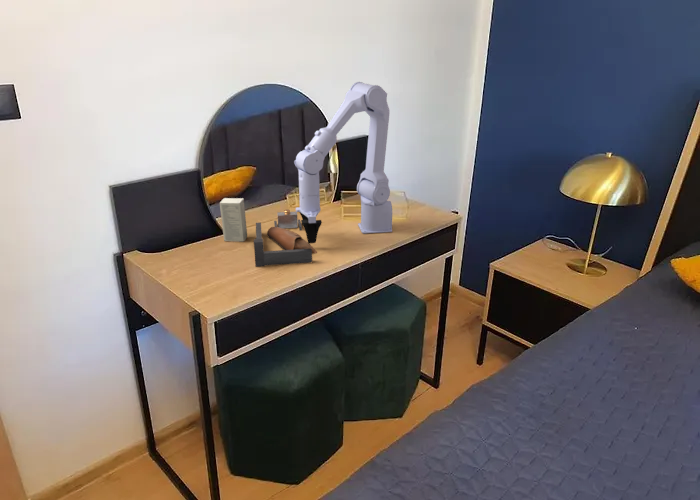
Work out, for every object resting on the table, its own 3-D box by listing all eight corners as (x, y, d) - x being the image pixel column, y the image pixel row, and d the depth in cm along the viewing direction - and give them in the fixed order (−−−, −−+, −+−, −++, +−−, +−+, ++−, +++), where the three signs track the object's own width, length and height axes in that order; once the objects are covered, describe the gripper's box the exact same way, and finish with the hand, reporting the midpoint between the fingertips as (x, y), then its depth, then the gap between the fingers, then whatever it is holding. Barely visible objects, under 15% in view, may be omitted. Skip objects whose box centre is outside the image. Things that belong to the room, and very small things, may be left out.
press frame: (303, 222, 182) (302, 202, 179) (312, 263, 154) (311, 239, 151) (254, 225, 180) (253, 204, 177) (255, 266, 151) (253, 242, 149)
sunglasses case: (319, 252, 160) (308, 235, 156) (300, 268, 159) (288, 251, 155) (292, 231, 174) (281, 216, 170) (274, 246, 173) (263, 231, 169)
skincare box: (247, 236, 171) (244, 198, 166) (243, 242, 167) (240, 203, 162) (227, 235, 172) (223, 197, 167) (222, 241, 168) (219, 202, 163)
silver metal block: (297, 224, 180) (296, 208, 178) (297, 227, 177) (297, 211, 175) (278, 225, 179) (277, 209, 177) (278, 228, 177) (277, 212, 174)
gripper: (293, 186, 166) (295, 229, 172) (297, 202, 153) (298, 248, 159) (317, 185, 167) (318, 228, 173) (323, 200, 154) (323, 246, 160)
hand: (310, 237), depth 166 cm, fingers open, 7 cm apart
